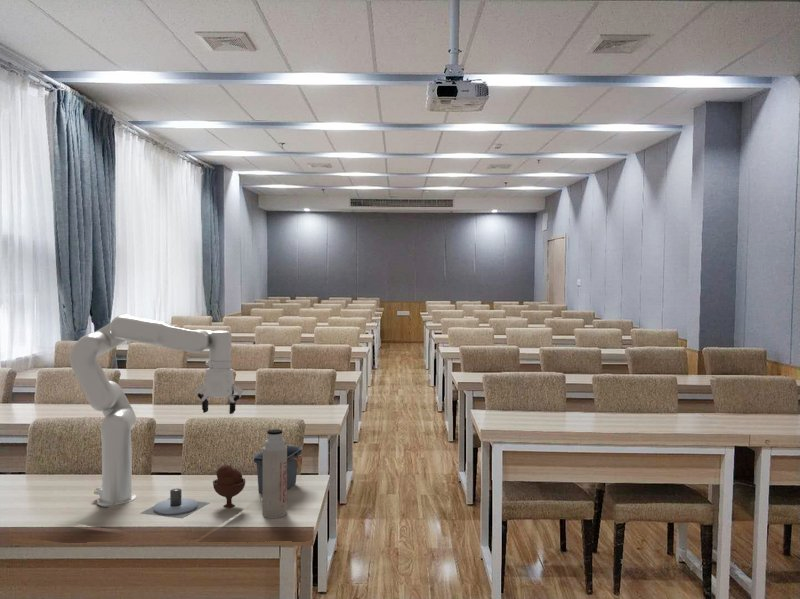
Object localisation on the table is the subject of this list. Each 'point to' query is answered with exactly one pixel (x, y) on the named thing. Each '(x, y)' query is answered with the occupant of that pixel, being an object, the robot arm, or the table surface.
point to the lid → (175, 504)
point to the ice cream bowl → (228, 483)
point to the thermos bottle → (274, 475)
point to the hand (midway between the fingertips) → (218, 412)
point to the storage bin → (291, 466)
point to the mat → (200, 505)
